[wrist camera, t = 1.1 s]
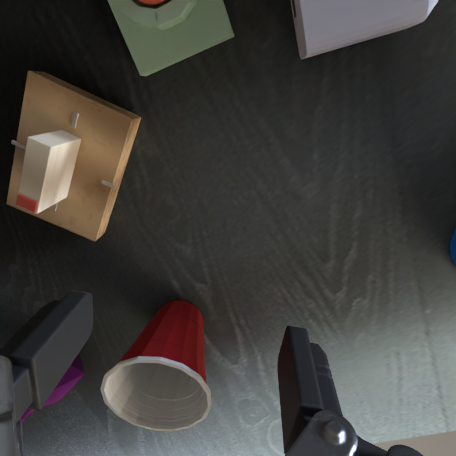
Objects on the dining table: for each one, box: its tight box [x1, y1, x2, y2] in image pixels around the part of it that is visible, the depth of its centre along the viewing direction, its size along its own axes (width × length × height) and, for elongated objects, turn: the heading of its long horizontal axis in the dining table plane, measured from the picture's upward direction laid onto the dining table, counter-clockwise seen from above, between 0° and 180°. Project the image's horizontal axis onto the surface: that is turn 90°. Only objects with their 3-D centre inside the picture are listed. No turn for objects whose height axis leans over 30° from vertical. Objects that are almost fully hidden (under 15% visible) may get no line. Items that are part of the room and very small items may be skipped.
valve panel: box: [6, 71, 141, 241], centre depth 33 cm, size 14×11×3 cm
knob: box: [16, 130, 81, 214], centre depth 29 cm, size 6×2×5 cm, turn 156°
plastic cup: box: [100, 300, 212, 431], centre depth 36 cm, size 11×11×12 cm
